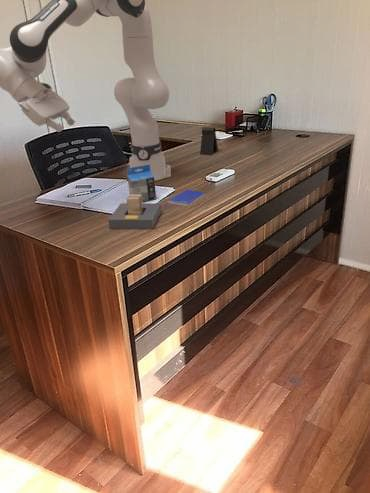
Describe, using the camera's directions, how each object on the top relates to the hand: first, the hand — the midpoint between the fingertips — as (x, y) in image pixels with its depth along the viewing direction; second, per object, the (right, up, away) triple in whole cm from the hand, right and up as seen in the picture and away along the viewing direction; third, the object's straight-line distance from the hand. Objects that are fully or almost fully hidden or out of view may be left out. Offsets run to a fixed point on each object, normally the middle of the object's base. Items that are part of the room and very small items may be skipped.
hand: (67, 127), depth 135 cm
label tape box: (+22, -21, +22) cm, 37 cm away
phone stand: (+49, +9, +77) cm, 91 cm away
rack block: (+21, -29, +6) cm, 36 cm away
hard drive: (+38, -21, +21) cm, 48 cm away
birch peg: (+21, -29, +6) cm, 36 cm away
